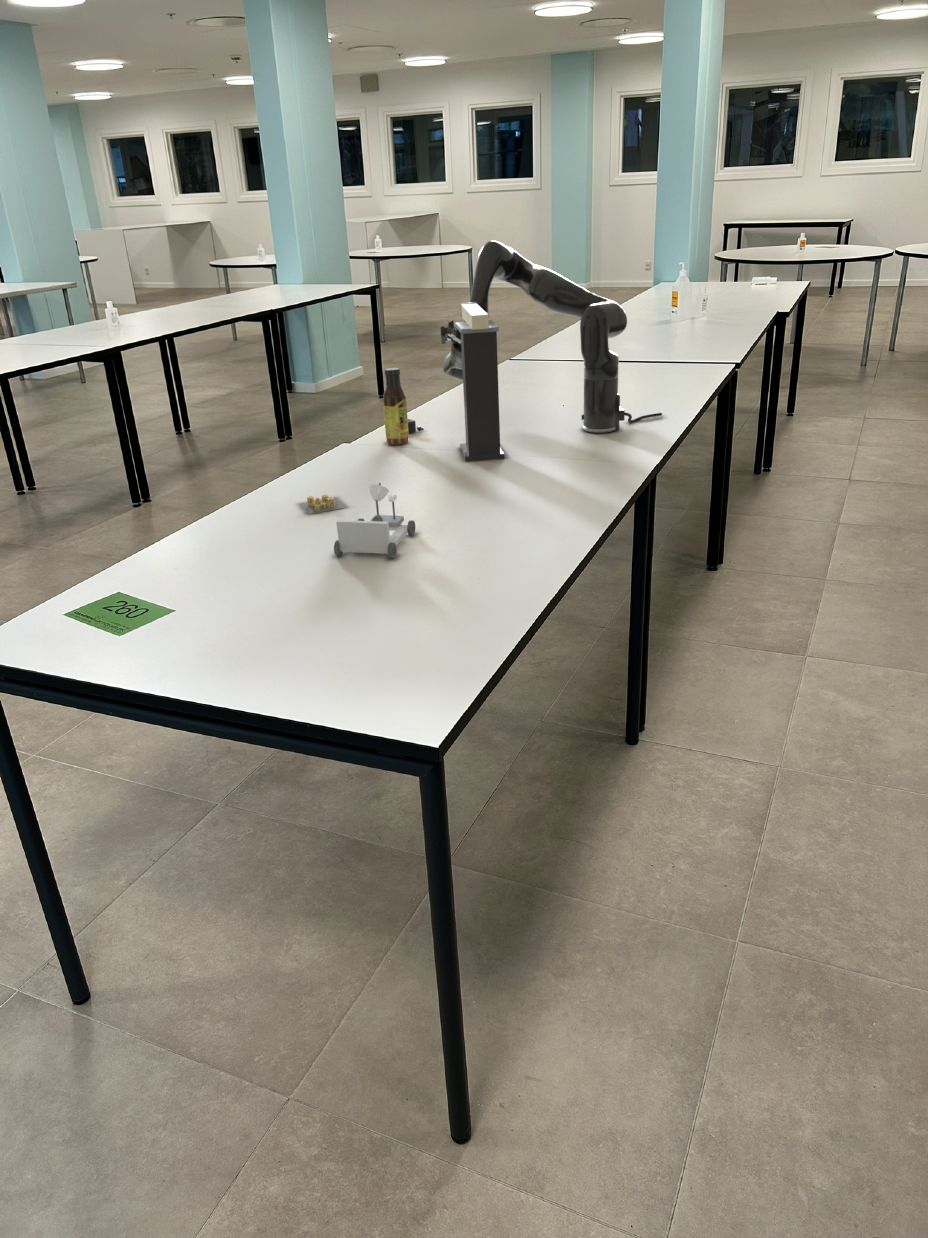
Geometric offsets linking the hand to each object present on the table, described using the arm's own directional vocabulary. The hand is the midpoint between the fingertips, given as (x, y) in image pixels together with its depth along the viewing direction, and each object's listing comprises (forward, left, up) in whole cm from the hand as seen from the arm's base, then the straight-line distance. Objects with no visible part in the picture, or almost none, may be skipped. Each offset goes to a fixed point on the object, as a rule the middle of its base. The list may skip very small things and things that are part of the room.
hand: (468, 322), depth 235 cm
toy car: (+28, +77, -31) cm, 87 cm away
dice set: (+40, +51, -30) cm, 71 cm away
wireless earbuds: (+17, -11, -30) cm, 37 cm away
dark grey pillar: (0, +18, -30) cm, 35 cm away
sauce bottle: (+21, +1, -30) cm, 37 cm away
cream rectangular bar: (0, +14, +2) cm, 14 cm away
